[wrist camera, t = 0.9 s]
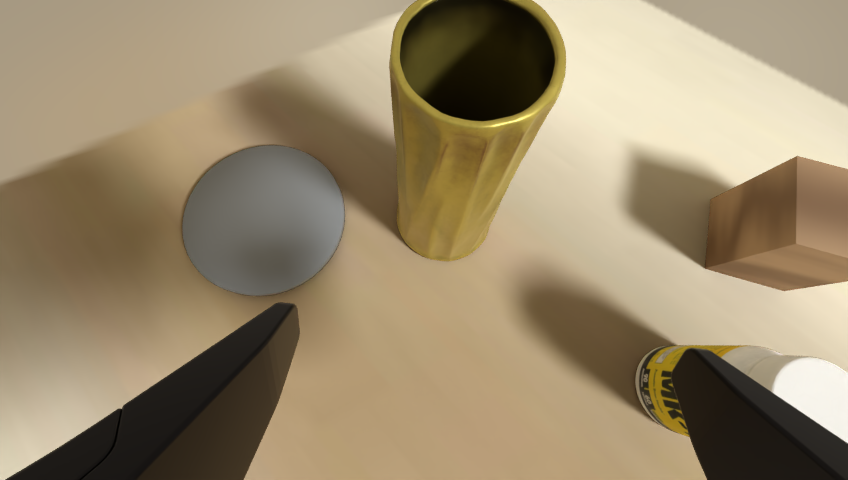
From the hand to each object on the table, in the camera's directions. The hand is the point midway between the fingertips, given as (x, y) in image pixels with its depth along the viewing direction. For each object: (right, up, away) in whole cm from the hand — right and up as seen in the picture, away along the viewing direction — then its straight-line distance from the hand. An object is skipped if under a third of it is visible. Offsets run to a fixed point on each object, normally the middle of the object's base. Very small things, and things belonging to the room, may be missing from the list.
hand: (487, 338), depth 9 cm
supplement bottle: (+13, -6, +13) cm, 20 cm away
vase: (0, +4, +16) cm, 16 cm away
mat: (-12, +4, +15) cm, 20 cm away
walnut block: (+20, +2, +16) cm, 25 cm away
